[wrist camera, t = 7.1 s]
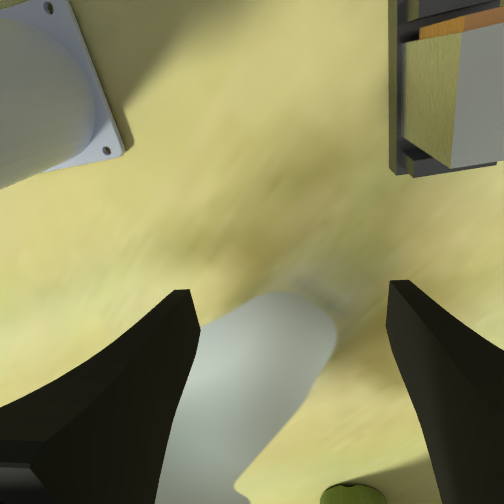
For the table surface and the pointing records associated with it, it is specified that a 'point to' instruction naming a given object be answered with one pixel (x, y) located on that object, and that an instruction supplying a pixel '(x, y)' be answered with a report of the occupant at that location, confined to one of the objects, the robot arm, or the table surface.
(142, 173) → the table surface
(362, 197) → the table surface
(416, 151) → the rail
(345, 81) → the table surface
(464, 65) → the grey and orange block
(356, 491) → the plant pot
